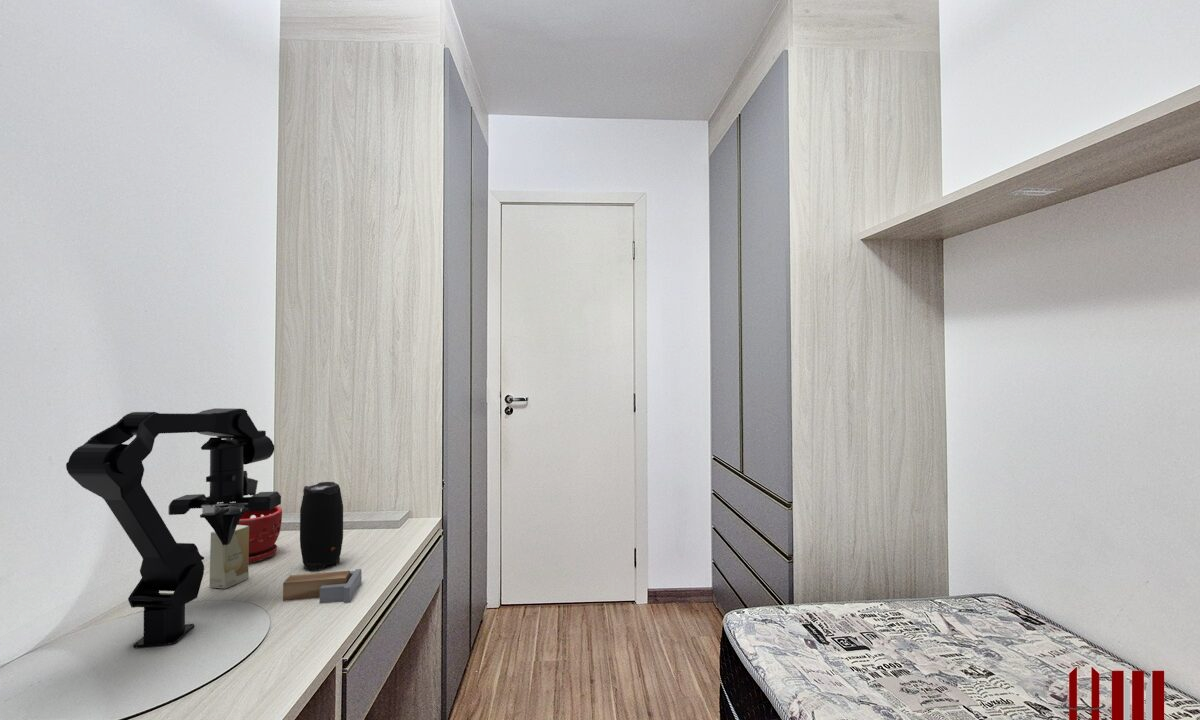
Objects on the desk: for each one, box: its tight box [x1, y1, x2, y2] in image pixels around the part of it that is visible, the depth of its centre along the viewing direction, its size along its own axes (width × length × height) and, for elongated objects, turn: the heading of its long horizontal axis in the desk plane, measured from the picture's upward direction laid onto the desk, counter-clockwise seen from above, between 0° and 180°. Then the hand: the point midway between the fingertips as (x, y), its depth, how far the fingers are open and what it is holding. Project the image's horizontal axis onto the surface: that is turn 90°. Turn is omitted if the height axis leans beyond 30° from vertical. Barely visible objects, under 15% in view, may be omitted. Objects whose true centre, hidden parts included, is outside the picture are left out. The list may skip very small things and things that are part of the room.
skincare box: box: [209, 525, 250, 590], centre depth 118 cm, size 6×4×12 cm
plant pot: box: [237, 505, 283, 564], centre depth 133 cm, size 13×13×12 cm
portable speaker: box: [299, 481, 344, 572], centre depth 128 cm, size 9×9×20 cm
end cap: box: [319, 568, 363, 604], centre depth 112 cm, size 10×6×3 cm, turn 12°
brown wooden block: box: [282, 570, 351, 602], centre depth 112 cm, size 4×12×4 cm, turn 102°
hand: (226, 544), depth 108 cm, fingers closed
